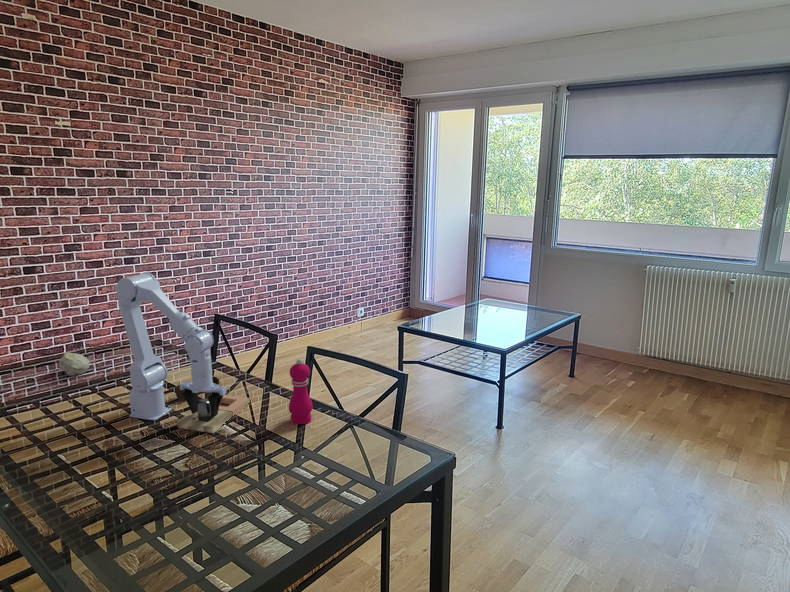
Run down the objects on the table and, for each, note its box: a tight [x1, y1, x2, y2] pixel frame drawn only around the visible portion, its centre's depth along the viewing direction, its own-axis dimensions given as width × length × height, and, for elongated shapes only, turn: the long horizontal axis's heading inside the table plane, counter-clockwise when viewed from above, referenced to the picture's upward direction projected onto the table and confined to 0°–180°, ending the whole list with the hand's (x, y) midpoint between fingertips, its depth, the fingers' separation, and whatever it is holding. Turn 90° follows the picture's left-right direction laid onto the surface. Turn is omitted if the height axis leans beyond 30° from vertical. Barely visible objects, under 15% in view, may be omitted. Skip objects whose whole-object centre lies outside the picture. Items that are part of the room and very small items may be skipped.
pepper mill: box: [288, 358, 314, 425], centre depth 156 cm, size 7×7×20 cm
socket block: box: [218, 394, 251, 417], centre depth 166 cm, size 12×10×2 cm
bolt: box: [175, 376, 220, 402], centre depth 177 cm, size 6×5×15 cm
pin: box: [197, 398, 212, 422], centre depth 155 cm, size 4×4×7 cm
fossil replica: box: [58, 352, 91, 377], centre depth 191 cm, size 12×8×10 cm
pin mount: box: [176, 410, 233, 434], centre depth 156 cm, size 12×10×2 cm
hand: (204, 413), depth 155 cm, fingers open, 6 cm apart
